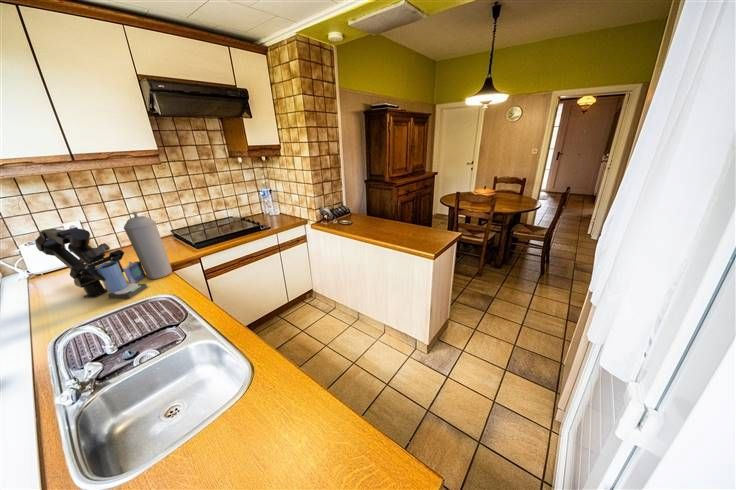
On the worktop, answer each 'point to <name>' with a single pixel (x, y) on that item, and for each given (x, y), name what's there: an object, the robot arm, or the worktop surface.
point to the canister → (148, 246)
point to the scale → (128, 291)
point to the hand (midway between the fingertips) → (114, 276)
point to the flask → (134, 272)
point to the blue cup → (112, 276)
